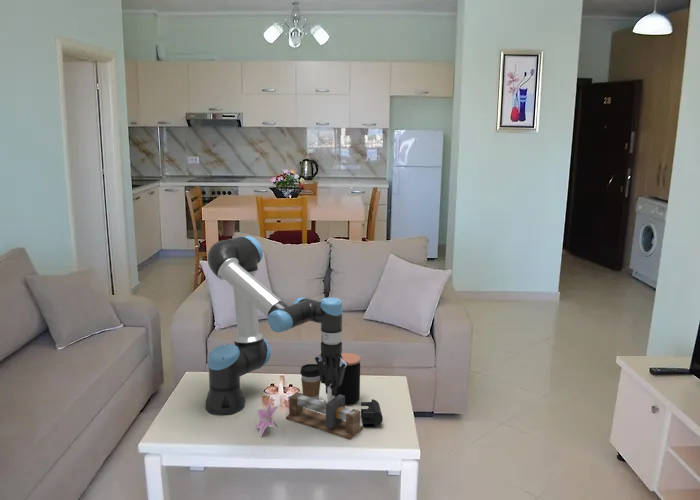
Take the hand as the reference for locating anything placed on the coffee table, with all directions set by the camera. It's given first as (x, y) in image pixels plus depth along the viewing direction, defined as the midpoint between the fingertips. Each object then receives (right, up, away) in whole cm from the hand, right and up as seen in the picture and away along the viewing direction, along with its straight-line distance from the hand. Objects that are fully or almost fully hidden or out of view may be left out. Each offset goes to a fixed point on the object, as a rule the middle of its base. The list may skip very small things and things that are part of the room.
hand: (331, 402), depth 219 cm
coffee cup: (-9, -5, +21) cm, 23 cm away
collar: (+2, -7, +1) cm, 8 cm away
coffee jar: (+5, -5, +23) cm, 24 cm away
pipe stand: (-3, -9, +4) cm, 10 cm away
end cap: (+15, -9, +6) cm, 18 cm away
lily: (-23, -10, -1) cm, 25 cm away
